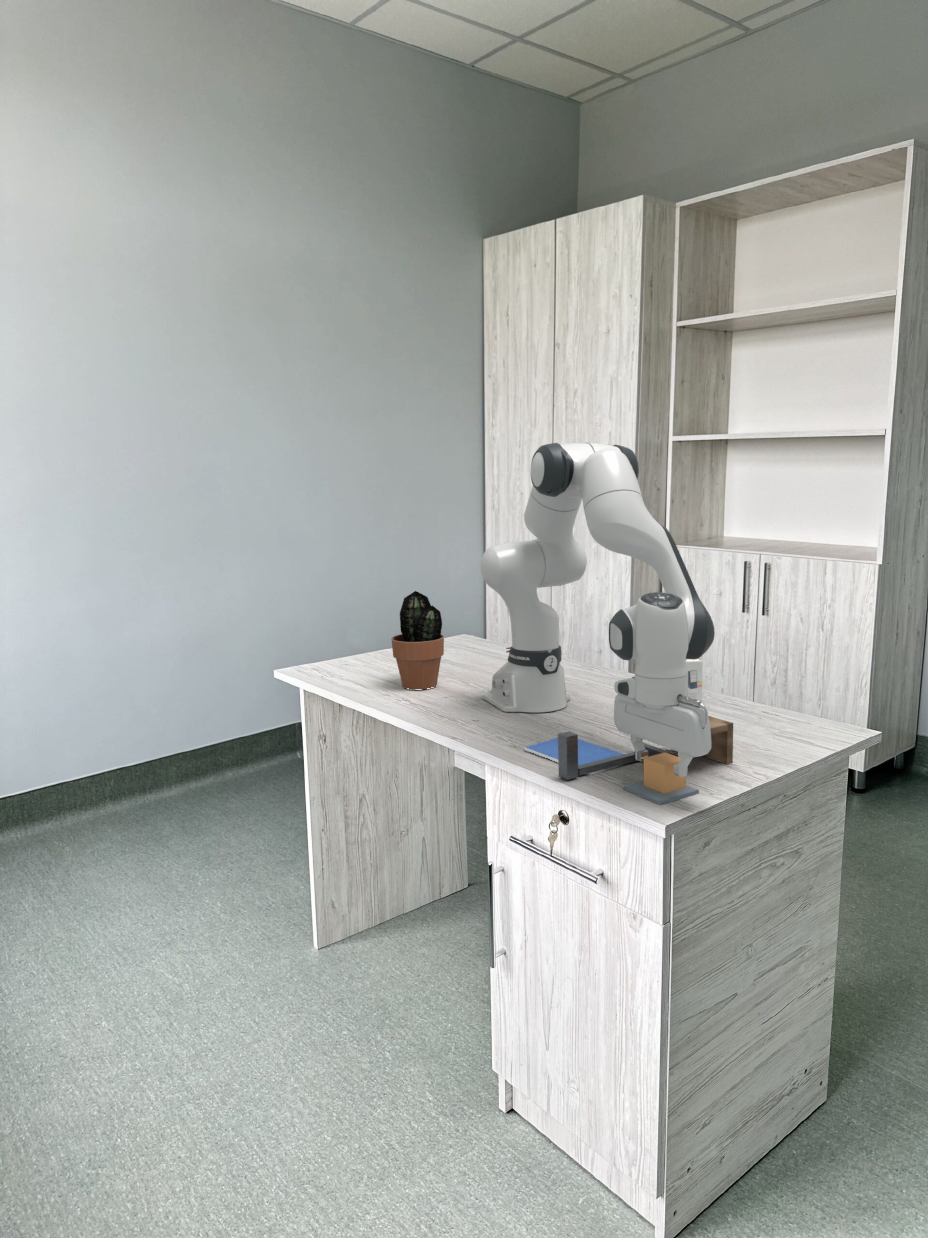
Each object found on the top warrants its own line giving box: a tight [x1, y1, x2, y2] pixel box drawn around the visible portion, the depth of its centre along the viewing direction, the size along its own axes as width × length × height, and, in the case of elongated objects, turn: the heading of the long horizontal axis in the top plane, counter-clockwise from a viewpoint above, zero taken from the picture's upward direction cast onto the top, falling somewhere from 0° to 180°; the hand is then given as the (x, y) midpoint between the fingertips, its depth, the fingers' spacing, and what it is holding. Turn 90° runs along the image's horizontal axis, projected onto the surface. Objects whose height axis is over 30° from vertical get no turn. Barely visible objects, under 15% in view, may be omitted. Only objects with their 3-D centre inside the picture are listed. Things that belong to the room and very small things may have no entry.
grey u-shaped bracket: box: [557, 730, 678, 781], centre depth 163 cm, size 12×19×8 cm, turn 121°
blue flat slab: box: [523, 737, 625, 775], centre depth 176 cm, size 19×13×1 cm, turn 36°
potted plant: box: [391, 590, 445, 689], centre depth 233 cm, size 14×14×25 cm
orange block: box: [643, 753, 687, 794], centre depth 155 cm, size 5×5×5 cm
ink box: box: [686, 655, 703, 707], centre depth 207 cm, size 9×5×15 cm, turn 178°
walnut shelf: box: [701, 715, 734, 765], centre depth 171 cm, size 13×10×8 cm
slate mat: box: [622, 779, 700, 806], centre depth 155 cm, size 9×9×1 cm
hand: (660, 768), depth 155 cm, fingers open, 8 cm apart
